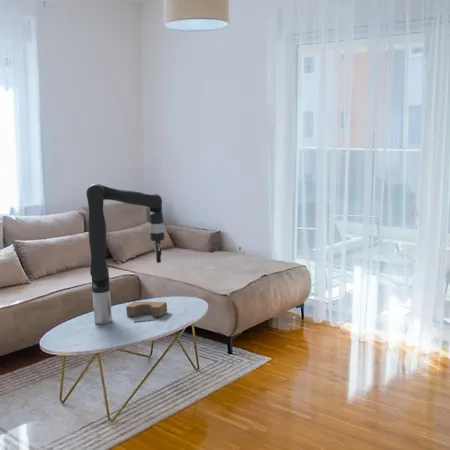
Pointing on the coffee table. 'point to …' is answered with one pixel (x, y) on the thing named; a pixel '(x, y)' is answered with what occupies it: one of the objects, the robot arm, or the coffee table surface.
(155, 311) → the decorative block
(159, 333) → the coffee table surface
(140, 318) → the mat
